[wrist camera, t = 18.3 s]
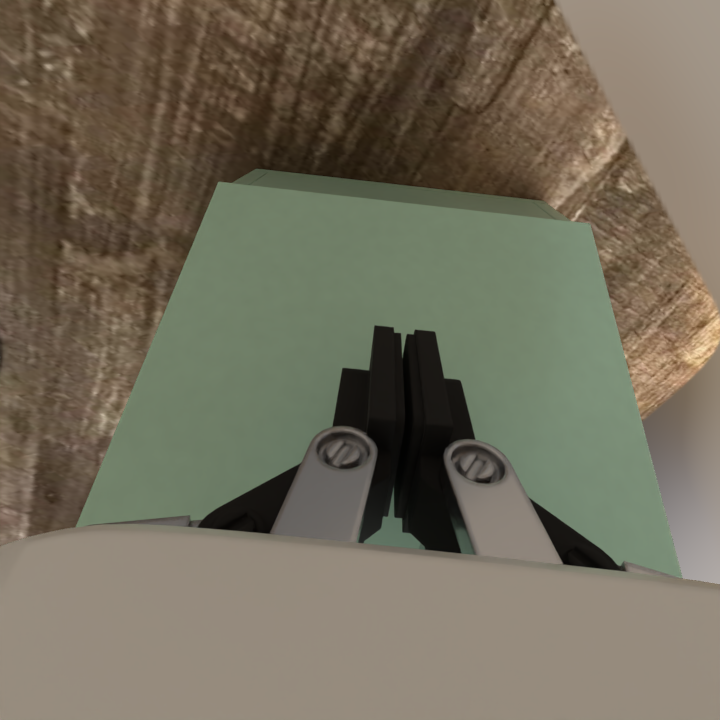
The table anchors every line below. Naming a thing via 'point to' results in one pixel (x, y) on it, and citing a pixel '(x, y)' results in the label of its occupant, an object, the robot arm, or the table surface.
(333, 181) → the box
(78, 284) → the table surface
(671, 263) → the table surface
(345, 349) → the lid
